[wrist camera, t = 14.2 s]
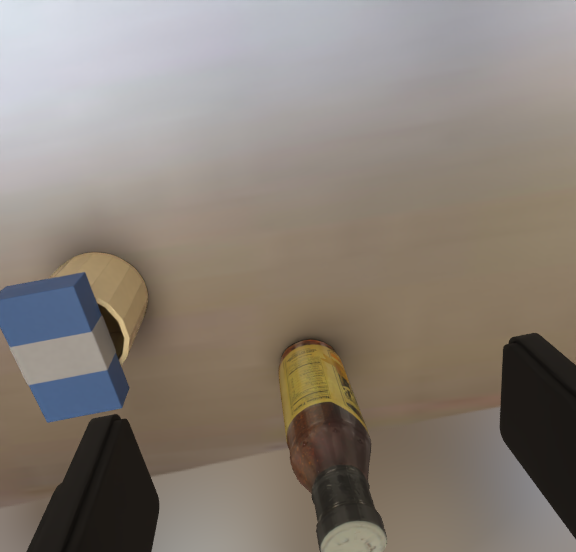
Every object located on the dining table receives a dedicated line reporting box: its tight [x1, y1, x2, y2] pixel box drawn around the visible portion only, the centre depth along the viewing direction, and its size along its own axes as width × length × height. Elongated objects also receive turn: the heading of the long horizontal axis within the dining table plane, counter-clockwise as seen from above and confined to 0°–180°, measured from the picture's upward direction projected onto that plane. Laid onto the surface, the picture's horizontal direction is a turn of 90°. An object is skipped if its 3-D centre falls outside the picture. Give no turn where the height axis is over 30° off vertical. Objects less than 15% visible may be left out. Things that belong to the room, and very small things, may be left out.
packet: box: [0, 272, 129, 422], centre depth 31 cm, size 10×6×2 cm, turn 9°
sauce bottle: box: [279, 340, 387, 552], centre depth 35 cm, size 7×6×20 cm
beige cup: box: [48, 252, 148, 365], centre depth 36 cm, size 8×8×8 cm
